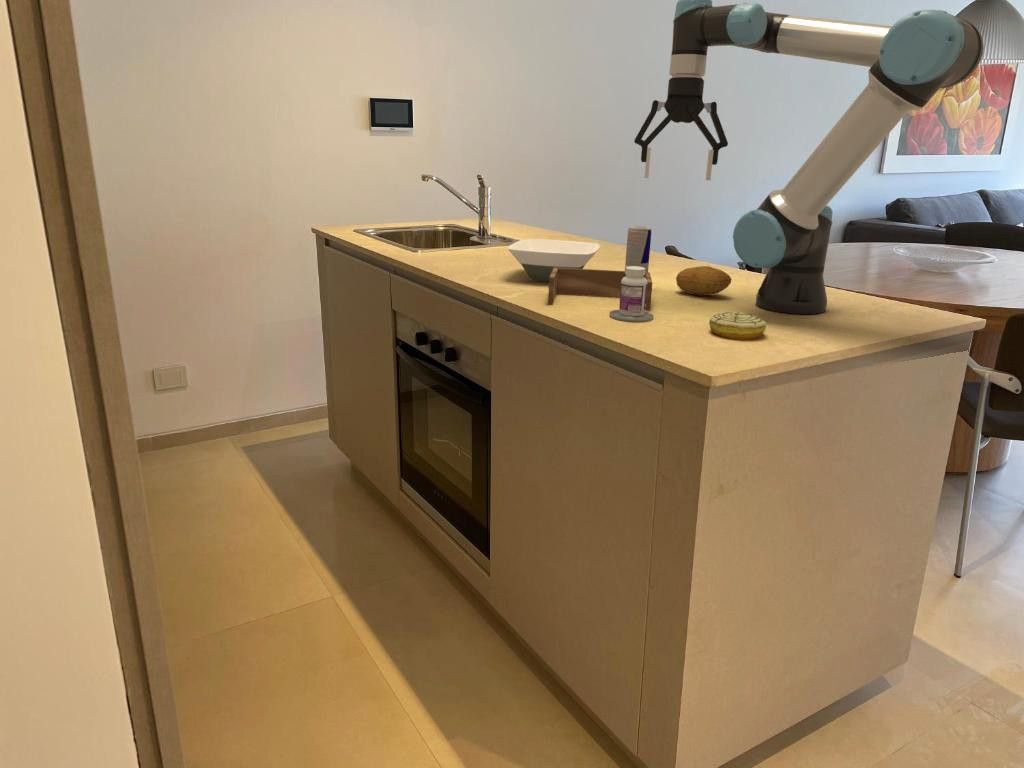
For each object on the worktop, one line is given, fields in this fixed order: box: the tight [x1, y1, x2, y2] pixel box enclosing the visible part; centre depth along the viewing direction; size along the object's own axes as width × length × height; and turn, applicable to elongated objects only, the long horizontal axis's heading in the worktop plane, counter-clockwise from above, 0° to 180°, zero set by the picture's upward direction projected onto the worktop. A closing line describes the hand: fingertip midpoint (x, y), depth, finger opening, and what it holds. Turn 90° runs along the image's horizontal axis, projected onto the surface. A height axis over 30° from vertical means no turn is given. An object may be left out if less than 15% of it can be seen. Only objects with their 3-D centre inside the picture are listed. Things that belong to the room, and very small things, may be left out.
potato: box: [675, 265, 732, 296], centre depth 183 cm, size 9×13×7 cm
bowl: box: [507, 238, 602, 283], centre depth 197 cm, size 22×23×8 cm
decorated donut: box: [708, 311, 768, 340], centre depth 148 cm, size 10×11×4 cm
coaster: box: [609, 309, 654, 323], centre depth 159 cm, size 9×9×1 cm
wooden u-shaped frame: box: [547, 267, 653, 312], centre depth 172 cm, size 14×22×6 cm, turn 83°
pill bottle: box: [618, 266, 648, 317], centre depth 158 cm, size 5×5×10 cm
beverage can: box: [624, 225, 652, 272], centre depth 186 cm, size 6×6×15 cm
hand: (677, 179), depth 173 cm, fingers open, 13 cm apart
